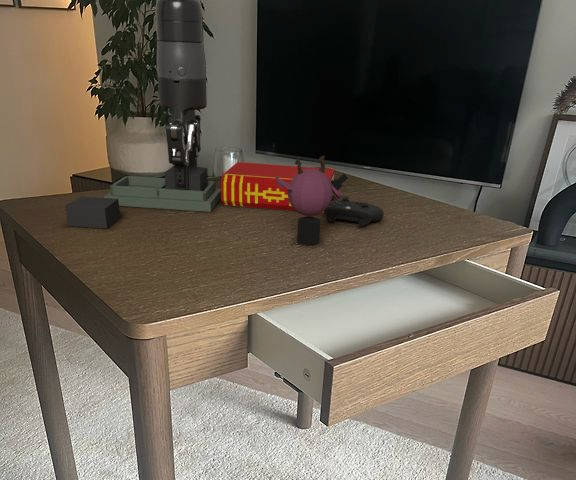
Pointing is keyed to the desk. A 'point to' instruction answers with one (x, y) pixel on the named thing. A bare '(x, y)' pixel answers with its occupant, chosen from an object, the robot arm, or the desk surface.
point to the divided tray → (162, 195)
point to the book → (260, 185)
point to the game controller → (353, 211)
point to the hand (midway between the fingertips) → (186, 184)
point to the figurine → (311, 198)
